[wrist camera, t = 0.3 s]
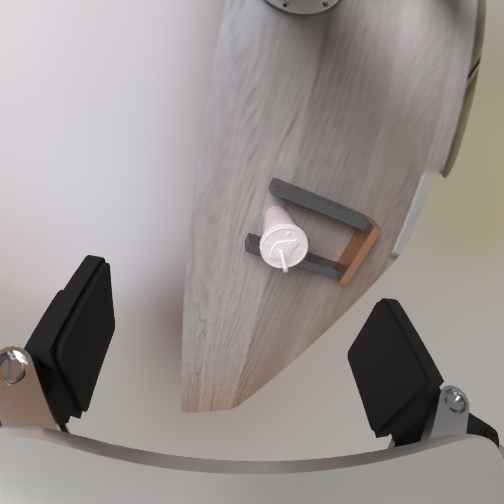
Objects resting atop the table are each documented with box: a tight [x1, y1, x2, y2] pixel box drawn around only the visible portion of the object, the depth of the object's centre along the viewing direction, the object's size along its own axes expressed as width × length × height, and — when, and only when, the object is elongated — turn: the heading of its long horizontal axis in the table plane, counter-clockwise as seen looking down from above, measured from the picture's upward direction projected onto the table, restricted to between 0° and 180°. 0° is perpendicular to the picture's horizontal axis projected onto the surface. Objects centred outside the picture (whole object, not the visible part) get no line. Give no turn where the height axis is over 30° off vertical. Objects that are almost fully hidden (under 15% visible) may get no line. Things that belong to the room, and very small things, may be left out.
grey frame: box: [245, 178, 381, 285], centre depth 47 cm, size 12×19×4 cm, turn 68°
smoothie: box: [260, 206, 308, 272], centre depth 41 cm, size 6×6×14 cm
